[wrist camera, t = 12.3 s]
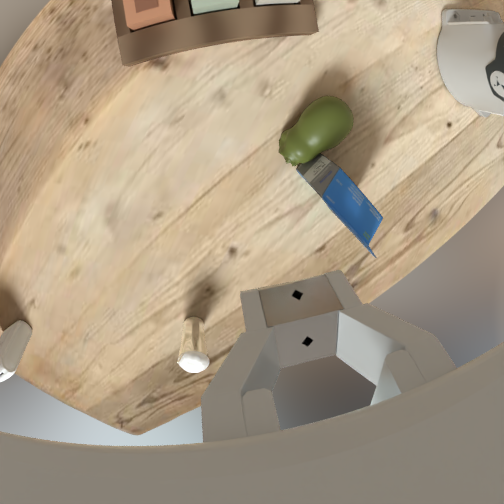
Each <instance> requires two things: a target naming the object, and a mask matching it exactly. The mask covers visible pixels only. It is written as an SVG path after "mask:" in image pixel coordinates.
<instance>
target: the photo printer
mask: <svg viewBox="0 0 504 504" xmlns="http://www.w3.org/2000/svg"><path fill="white" fill-rule="evenodd" d="M31 330H32V329H31V327H30V326H29V325H28V324H27V323H26V322H24V321H21V320H19V321H17V322H15V323H14V324H12V325H11V326H10V327H8V328H7V329H6V330H5V331H4V332H3V333H2V335H1V337H0V382H1V381H4V380H6V379H8V378H9V377H10V376H12V375H13V374H14V372H15V371H16V369H17V367H18V365H19V362H20V360H21V358H22V355H23V353H24V351H25V349H26V346H27V344H28V342H29V340H30V337H31V335H32V331H31Z"/></svg>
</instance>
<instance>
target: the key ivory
mask: <svg viewBox="0 0 504 504" xmlns="http://www.w3.org/2000/svg"><path fill="white" fill-rule="evenodd" d="M299 1H300V0H255V2H256V5H262V4H277V3H298V2H299Z"/></svg>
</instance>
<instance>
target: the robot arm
mask: <svg viewBox="0 0 504 504" xmlns="http://www.w3.org/2000/svg"><path fill="white" fill-rule="evenodd" d="M437 59H438V65H439V69H440V73H441V76H442V79H443V81H444V83H445V85H446V87H447V89H448V90H449V92H450V93H451V95H452V96H453V97H454V98H455V99H456V100H457V101H458V102H460V103H461V104H463V105H465V106H468V107H471V108H473V109H474V110H475V111H476V112H477V113H478V114H479V115H480V116H482V117H488V116H489V115H490V114H491V113H493V114H498V115H502V116H504V22H503V21H502V19H501V17H500V14H499V13H498V12H495V11H489V10H472V9H444V10H443V11H442V30H441V32H440V35H439V38H438V44H437ZM240 297H241V303H242V309H243V315H244V321H245V327H246V332H245V333H241V334H240V336H239V338H238V339H237V341H236V343H235V344H234V346H233V347H232V349H231V351H230V352H229V354H228V355H227V357H226V359H225V360H224V362H223V363H222V365H221V367H220V368H219V370H218V371H217V373H216V375H215V376H214V378H213V379H212V381H211V382H210V384H209V386H208V387H207V389H206V390H205V392H204V393H203V395H202V397H201V408H202V429H203V443H194V444H182V445H164V446H103V445H87V444H75V443H65V442H57V441H49V440H42V439H36V438H30V437H25V436H19V435H14V434H10V433H5V432H1V431H0V504H504V342H502V343H501V344H499V345H498V346H496V347H495V348H493V349H491V350H490V351H488V352H486V353H484V354H482V355H481V356H479V357H477V358H476V359H474V360H472V361H470V362H468V363H466V364H464V365H462V366H461V367H459V368H456V366H455V365H454V363H453V361H452V360H451V358H450V357H449V355H448V354H447V352H446V351H445V349H444V348H443V346H442V345H441V344H440V342H439V341H438V339H437V338H436V336H435V335H433V334H431V333H429V332H427V331H425V330H423V329H421V328H419V327H417V326H415V325H412V324H410V323H408V322H406V321H404V320H402V319H400V318H398V317H395V316H393V315H391V314H389V313H387V312H385V311H383V310H381V309H379V308H377V307H375V306H372V305H370V304H368V303H366V304H362V302H361V301H360V299H359V297H358V296H357V294H356V293H355V291H354V289H353V288H352V286H351V285H350V283H349V282H348V280H347V278H346V277H345V275H344V274H343V272H342V271H341V270H336V271H332V272H328V273H325V274H323V275H318V276H314V277H310V278H305V279H301V280H297V281H292V282H287V283H282V284H276V285H271V286H266V287H261V288H258V289H251V290H246V291H241V292H240ZM332 355H337V357H339V358H340V359H341V360H343V361H344V362H345V363H347V364H348V365H349V366H351V367H352V368H353V369H355V370H356V371H358V372H359V373H360V374H362V375H363V376H364V377H366V378H367V379H368V380H370V381H371V382H372V383H374V384H375V385H376V386H377V387H376V390H375V393H374V396H373V399H372V402H371V405H370V406H367V407H364V408H361V409H358V410H355V411H352V412H349V413H346V414H343V415H339V416H336V417H332V418H329V419H326V420H322V421H318V422H314V423H310V424H307V425H303V426H299V427H294V428H290V429H285V430H280V426H279V421H278V417H277V413H276V408H275V404H274V400H273V395H272V391H273V388H274V385H275V383H276V380H277V378H278V375H279V373H280V369H281V368H285V367H289V366H292V365H296V364H300V363H303V362H307V361H311V360H316V359H320V358H324V357H328V356H332Z"/></svg>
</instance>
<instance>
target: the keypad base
mask: <svg viewBox="0 0 504 504" xmlns="http://www.w3.org/2000/svg"><path fill="white" fill-rule="evenodd" d="M111 1H112V8H113V14H114V21H115V27H116V33H117V38H118V44H119V49H120V54H121V60H122V65H124V66H133V65H136V64H139V63H142V62H146V61H149V60H152V59H156V58H160V57H163V56H167V55H171V54H175V53H179V52H183V51H188V50H192V49H197V48H202V47H207V46H212V45H218V44H223V43H230V42H236V41H243V40H251V39H260V38H270V37H282V36H298V35H311V34H314V33H316V32H319V31H318V25H317V19H316V14H315V9H314V3H313V0H300V1H299V2H298V3H277V4H262V5H256V2H255V0H239V3H238V6H237V8H236V9H233V10H226V11H220V12H214V13H208V14H202V15H197V16H194V13H193V9H192V3H191V0H173V5H174V11H175V16H176V20H174V21H170V22H166V23H163V24H159V25H155V26H152V27H148V28H145V29H141V30H138V31H134V30H132V29H131V28H129V27H127V23H126V17H125V11H124V5H123V0H111Z"/></svg>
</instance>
